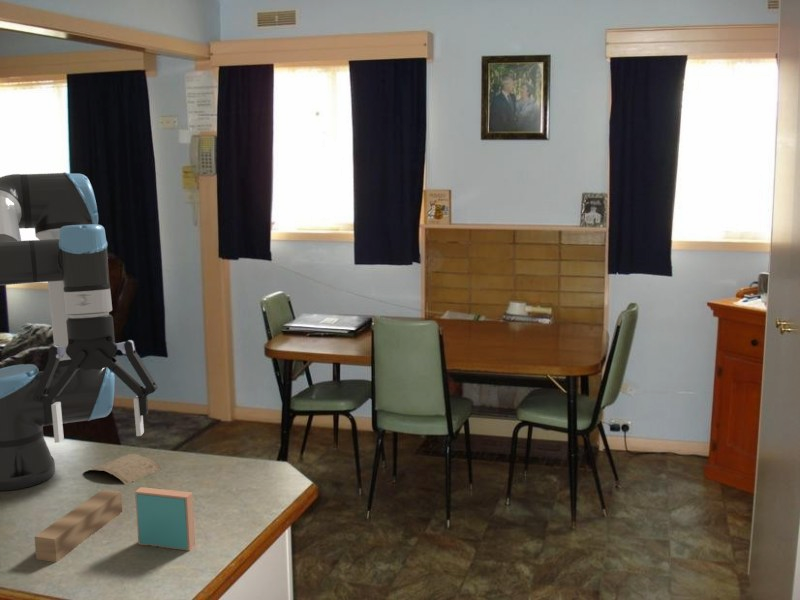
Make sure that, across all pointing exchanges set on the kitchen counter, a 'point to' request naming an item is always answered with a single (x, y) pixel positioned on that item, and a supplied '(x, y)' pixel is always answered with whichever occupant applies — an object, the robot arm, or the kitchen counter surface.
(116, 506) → the walnut stick
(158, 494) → the terracotta tile
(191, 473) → the kitchen counter surface
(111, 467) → the curved brown bark piece
